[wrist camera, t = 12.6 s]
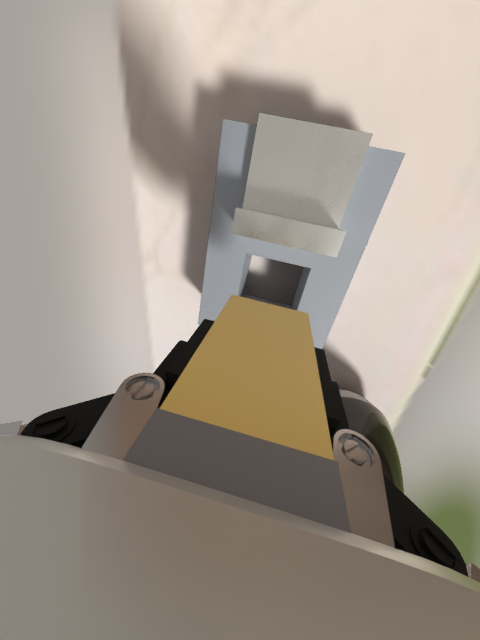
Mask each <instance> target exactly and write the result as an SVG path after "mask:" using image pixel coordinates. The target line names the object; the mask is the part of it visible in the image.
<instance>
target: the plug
mask: <svg viewBox="0 0 480 640" xmlns="http://www.w3.org/2000/svg"><path fill="white" fill-rule="evenodd" d="M123 461H126V462H129V463H132V464H135V465H139V466H142V467H145V468H148V469H152V470H155V471H158V472H161V473H164V474H168V475H171V476H174V477H177V478H180V479H184V480H187V481H190V482H193V483H196V484H199V485H203V486H206V487H209V488H212V489H215V490H218V491H221V492H225V493H228V494H231V495H234V496H237V497H240V498H243V499H247V500H250V501H253V502H256V503H259V504H262V505H265V506H269V507H272V508H275V509H278V510H281V511H284V512H287V513H290V514H293V515H296V516H300V517H303V518H306V519H309V520H312V521H315V522H318V523H321V524H324V525H327V526H330V527H333V528H337V529H340V530H343V531H346V532H349V533H351V529H350V523H349V518H348V513H347V507H346V502H345V497H344V492H343V486H342V481H341V476H340V470H339V465H338V461H334V456H333V450H332V445H331V439H330V433H329V428H328V422H327V416H326V411H325V405H324V399H323V394H322V388H321V382H320V377H319V371H318V365H317V360H316V354H315V348H314V343H313V337H312V331H311V326H310V320H309V314H308V313H305V312H301V311H297V310H293V309H289V308H285V307H281V306H277V305H273V304H269V303H265V302H261V301H257V300H253V299H249V298H245V297H241V296H237V295H233V294H232V295H231V297H230V298H229V300H228V301H227V303H226V305H225V306H224V308H223V309H222V311H221V312H220V314H219V316H218V317H217V319H216V320H215V322H214V323H213V325H212V327H211V328H210V330H209V331H208V333H207V334H206V336H205V338H204V339H203V341H202V342H201V344H200V345H199V347H198V349H197V350H196V352H195V353H194V355H193V356H192V358H191V360H190V361H189V363H188V364H187V366H186V367H185V369H184V371H183V372H182V374H181V375H180V377H179V378H178V380H177V382H176V383H175V385H174V386H173V388H172V390H171V391H170V393H169V394H168V396H167V397H166V399H165V401H164V402H163V404H162V405H161V407H160V408H156V409H155V411H154V412H153V414H152V415H151V417H150V419H149V420H148V422H147V423H146V425H145V426H144V428H143V429H142V431H141V432H140V434H139V435H138V437H137V438H136V440H135V442H134V443H133V445H132V446H131V448H130V449H129V451H128V452H127V454H126V455H125V457H124V458H123Z"/></svg>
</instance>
